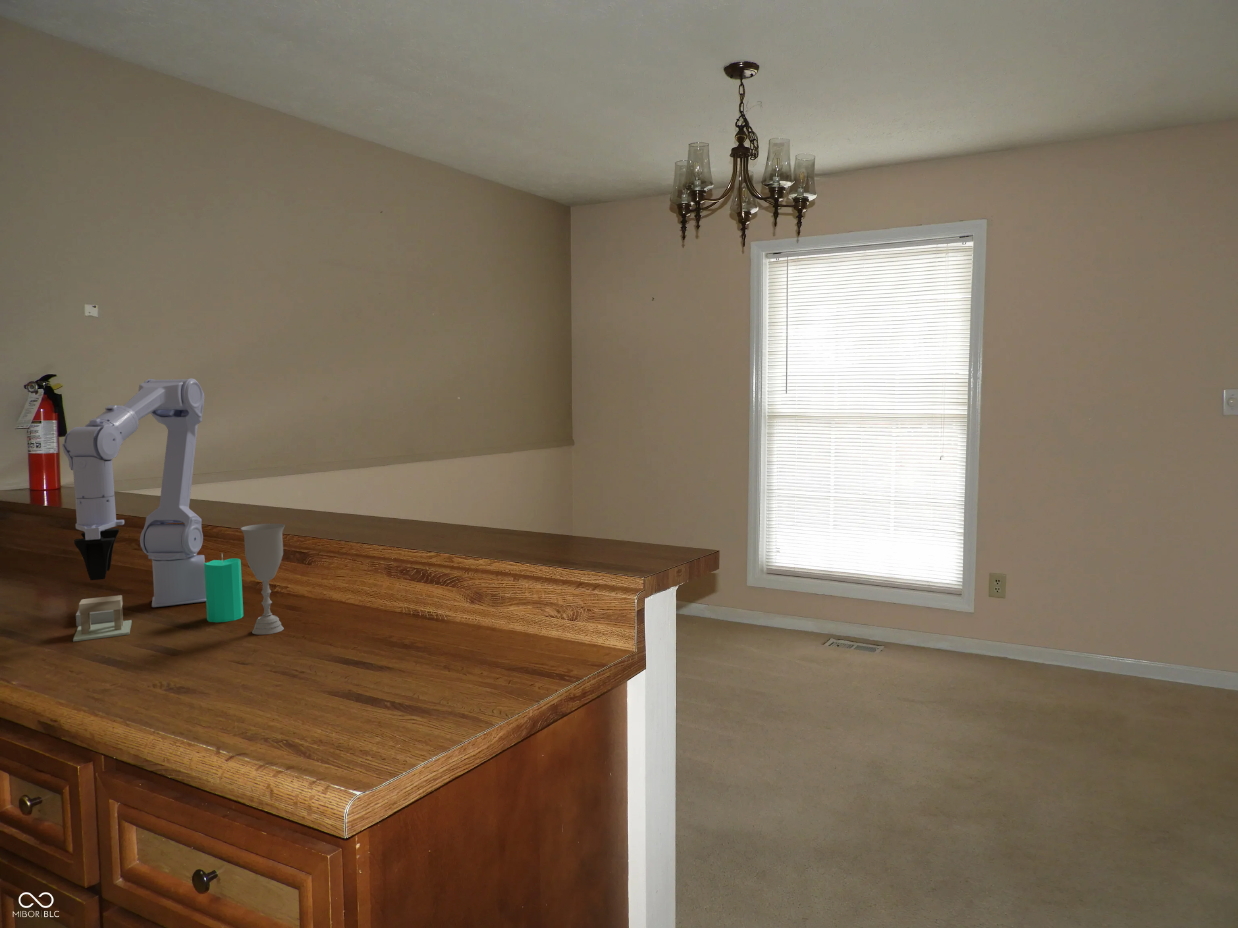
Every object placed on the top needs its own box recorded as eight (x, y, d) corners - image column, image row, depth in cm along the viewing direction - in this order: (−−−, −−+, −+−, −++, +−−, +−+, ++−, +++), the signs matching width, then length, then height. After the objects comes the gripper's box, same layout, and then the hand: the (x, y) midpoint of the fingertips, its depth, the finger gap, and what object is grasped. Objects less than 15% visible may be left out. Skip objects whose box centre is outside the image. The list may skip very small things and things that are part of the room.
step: (118, 612, 155) (117, 602, 155) (116, 621, 149) (115, 610, 149) (80, 617, 153) (79, 606, 152) (76, 626, 146) (75, 615, 146)
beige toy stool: (80, 634, 140) (78, 604, 139) (83, 628, 143) (81, 599, 143) (122, 629, 142) (120, 599, 142) (123, 624, 146) (122, 595, 146)
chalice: (272, 637, 138) (267, 530, 137) (236, 635, 139) (231, 529, 138) (298, 625, 145) (293, 523, 144) (263, 623, 147) (258, 523, 145)
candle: (249, 613, 154) (246, 550, 153) (231, 622, 148) (228, 556, 147) (219, 613, 154) (216, 549, 153) (200, 622, 148) (196, 556, 147)
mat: (131, 622, 149) (131, 619, 149) (129, 634, 141) (129, 632, 141) (78, 628, 145) (78, 626, 145) (73, 641, 137) (73, 639, 137)
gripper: (118, 499, 136) (123, 580, 137) (125, 490, 149) (130, 565, 150) (67, 502, 133) (73, 585, 134) (79, 493, 146) (84, 569, 147)
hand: (100, 575), depth 142 cm, fingers open, 7 cm apart
